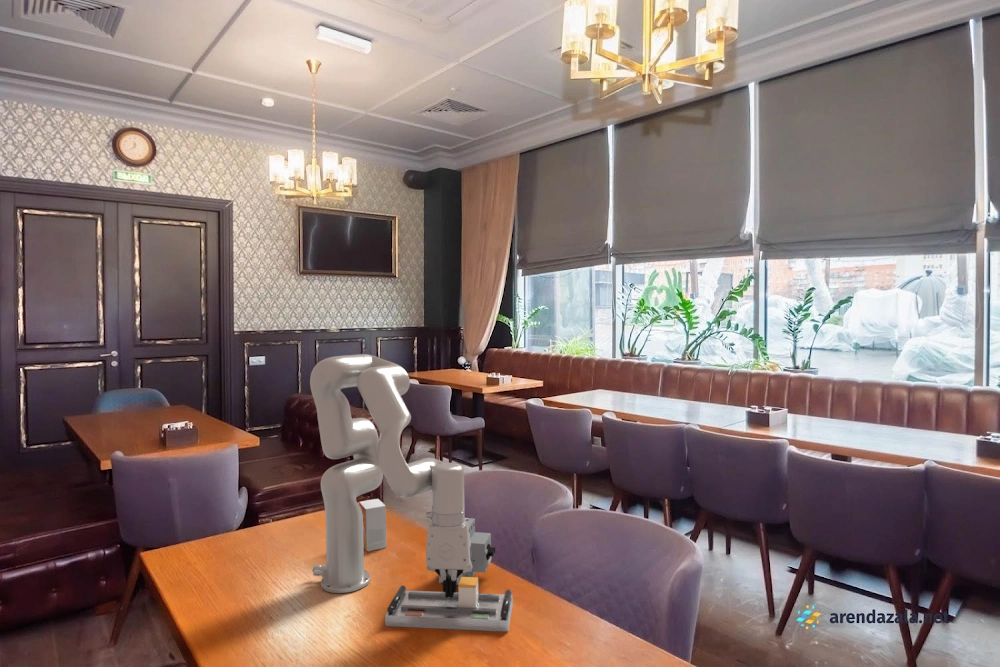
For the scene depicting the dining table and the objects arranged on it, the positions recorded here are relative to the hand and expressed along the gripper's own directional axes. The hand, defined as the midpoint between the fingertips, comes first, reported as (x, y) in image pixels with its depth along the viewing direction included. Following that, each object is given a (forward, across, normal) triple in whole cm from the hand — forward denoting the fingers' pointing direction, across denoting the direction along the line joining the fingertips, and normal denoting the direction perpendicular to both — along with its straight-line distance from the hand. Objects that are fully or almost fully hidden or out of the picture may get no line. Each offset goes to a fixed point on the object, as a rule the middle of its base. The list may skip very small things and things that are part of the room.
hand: (450, 594), depth 136 cm
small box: (+5, -32, +39) cm, 51 cm away
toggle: (+2, +4, 0) cm, 5 cm away
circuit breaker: (+5, +1, +19) cm, 20 cm away
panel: (+5, 0, 0) cm, 5 cm away
